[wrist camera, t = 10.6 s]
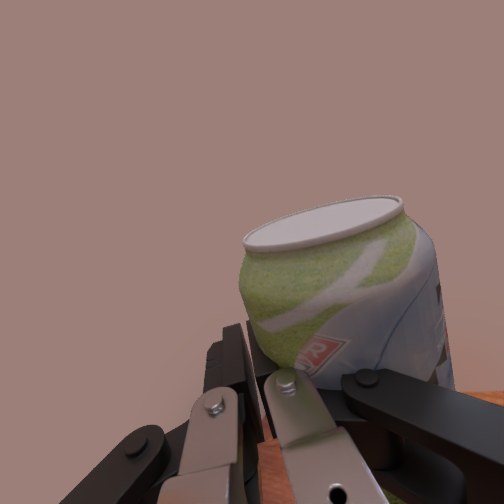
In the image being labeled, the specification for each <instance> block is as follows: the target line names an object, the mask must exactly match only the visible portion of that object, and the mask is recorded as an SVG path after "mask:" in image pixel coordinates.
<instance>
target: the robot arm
mask: <svg viewBox="0 0 504 504" xmlns="http://www.w3.org/2000/svg"><path fill="white" fill-rule="evenodd" d="M246 324H247V330H248V336H249V343H250V349H251V355H252V360H253V367H254V372H253V367H252V362H251V358H250V355H249V351H248V348H247V344H246V341H245V338H244V335H243V331H242V327H241V324H240V323H238V324H234V325H231V326H227V327H224V328H223V340H222V341H219V342H215V343H213V344H212V346H211V347H210V349H209V350H208V352H207V359H206V361H207V362H206V370H205V378H204V388H203V395H201V396H200V397H199V398H198V400H196V402H195V403H194V405H193V407H192V410H191V415H190V419H189V420H188V421H186V422H185V423H183V424H182V425H180V426H179V427H177V428H175V429H173V430H171V431H170V432H168V433H166V434H164V432H163V430H162V428H161V427H159V426H157V425H147V426H143V427H141V428H139V429H137V430H135V431H133V432H132V433H130V434H129V435H128V436H126V437H125V438H124V439H123V440H122V441H121V442H120V443H119V444H118V445H117V446H116V447H115V448H114V449H113V450H112V451H111V452H110V453H109V454H108V455H107V456H106V457H105V458H104V459H103V460H102V461H101V462H100V463H99V464H98V465H97V466H96V467H95V468H94V469H93V470H92V471H91V472H90V473H89V474H88V475H87V476H86V477H85V478H84V479H83V480H82V481H81V482H80V483H79V484H78V485H77V486H76V487H75V488H74V489H73V490H72V491H71V492H70V493H69V494H68V495H67V496H66V497H65V498H64V499H63V500H62V501H61V502H60V503H59V504H263V494H262V480H261V469H260V465H259V462H258V460H259V457H258V448H257V444H258V443H261V442H265V440H264V434H263V428H262V422H261V415H260V409H259V403H258V397H257V391H256V385H255V378H256V382H257V385H258V388H259V392H260V395H261V399H262V402H263V405H264V409H265V412H266V416H267V419H268V423H269V426H270V429H271V433H272V436H273V439H274V438H278V441H279V445H280V449H281V452H282V456H283V459H284V463H285V467H286V470H287V474H288V477H289V481H290V484H291V488H292V491H293V495H294V498H295V502H296V504H390V503H389V502H388V500H387V498H386V497H385V495H384V493H383V491H382V490H381V488H380V487H382V488H383V489H385V490H386V491H388V492H389V493H391V494H393V495H394V496H396V497H397V498H399V499H400V500H402V501H403V502H405V503H406V504H504V407H502V406H499V405H496V404H493V403H490V402H487V401H484V400H481V399H478V398H475V397H472V396H469V395H466V394H463V393H460V392H457V391H453V390H450V389H447V388H444V387H441V386H438V385H435V384H432V383H429V382H426V381H423V380H420V379H417V378H414V377H411V376H408V375H405V374H402V373H399V372H396V371H393V370H390V369H387V368H384V369H380V370H376V371H374V370H372V369H367V368H364V369H360V370H358V371H357V372H356V373H354V374H342V376H341V387H342V390H327V389H321V388H316V387H315V385H314V384H313V382H312V380H311V378H310V376H309V375H308V374H307V373H306V372H305V371H303V370H300V369H296V368H293V367H288V368H283V369H280V370H279V369H278V366H277V363H275V362H274V361H273V360H271V359H270V358H269V357H267V356H266V355H265V354H264V353H263V351H262V350H261V349H260V348H259V345H258V343H257V340H256V338H255V335H254V332H253V329H252V326H251V323H250V320H248V321H246ZM254 373H255V378H254Z"/></svg>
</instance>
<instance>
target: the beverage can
mask: <svg viewBox="0 0 504 504" xmlns="http://www.w3.org/2000/svg"><path fill="white" fill-rule="evenodd" d="M243 246H244V247H245V250H246V254H245V257H244V260H243V263H242V267H241V270H240V275H239V290H240V293H241V296H242V299H243V301H244V305H245V308H246V311H247V314H248V317H249V320H250V323H251V326H252V329H253V332H254V335H255V338H256V340H257V343H258V345H259V348H260V349H261V350H262V351H263V353H264V354H265V355H266V356H267V357H269V358H270V359H271V360H273V361H274V362H275V363H277V366H278V369H279V370H280V369H283V368H288V367H293V368H296V369H300V370H303V371H305V372H306V373H307V374H308V375H309V376H310V378H311V380H312V382H313V384H314V385H315V387H316V388H321V389H327V390H342V387H341V376H342V374H354V373H356V372H357V371H358V370H360V369H364V368H367V369H372V370H374V371H376V370H380V369H384V368H387V369H390V370H393V371H396V372H399V373H402V374H405V375H408V376H411V377H414V378H417V379H420V380H423V381H426V382H429V383H432V384H435V385H438V386H441V387H444V388H447V389H450V390H453V391H455V384H454V378H453V370H452V363H451V357H450V349H449V343H448V335H447V328H446V322H445V314H444V307H443V301H442V293H441V286H440V280H439V272H438V265H437V258H436V252H435V248H434V244H433V242H432V240H431V238H430V237H429V236H428V234H427V233H426V232H425V231H424V230H423V229H422V228H421V227H420V226H419V225H418V224H417V223H415V222H414V221H413V220H412V219H411V218H410V217H409V216H407V215H406V214H405V212H404V203H403V200H402V199H401V198H400V197H396V196H389V195H380V196H379V195H378V196H367V197H359V198H353V199H347V200H342V201H337V202H333V203H329V204H324V205H320V206H317V207H313V208H309V209H306V210H303V211H299V212H296V213H293V214H290V215H287V216H284V217H281V218H279V219H276V220H274V221H271V222H269V223H266V224H264V225H262V226H260V227H258V228H256V229H254V230H253V231H251V232H250V233H248V234H247V235H246V236H245V237H244V239H243ZM380 488H381V490H382V491H383V493H384V495H385V497H386V498H387V500H388V502H389V503H390V504H406V503H405V502H403V501H402V500H400V499H399V498H397V497H396V496H394V495H393V494H391V493H389V492H388V491H386V490H385V489H383V488H382V487H380Z"/></svg>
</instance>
